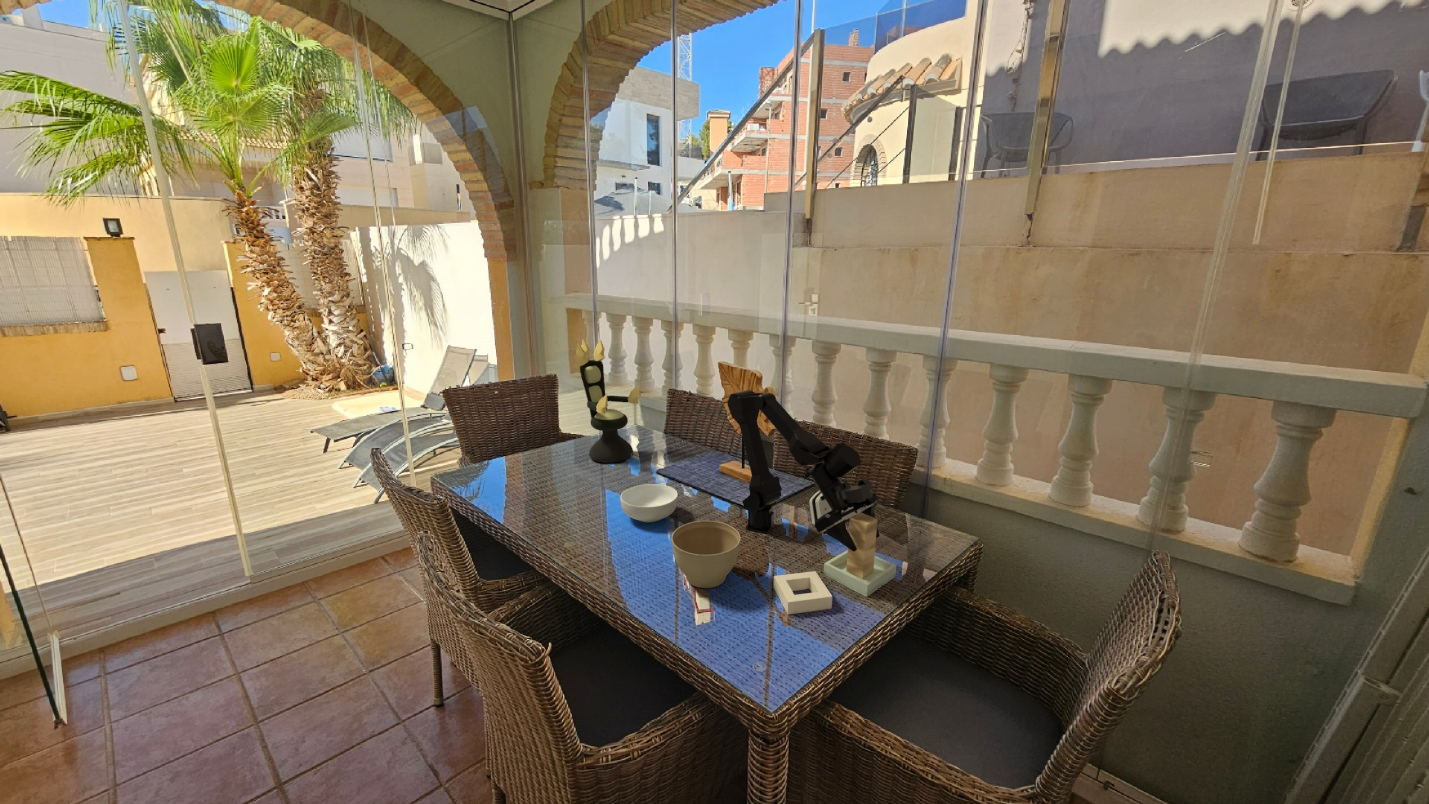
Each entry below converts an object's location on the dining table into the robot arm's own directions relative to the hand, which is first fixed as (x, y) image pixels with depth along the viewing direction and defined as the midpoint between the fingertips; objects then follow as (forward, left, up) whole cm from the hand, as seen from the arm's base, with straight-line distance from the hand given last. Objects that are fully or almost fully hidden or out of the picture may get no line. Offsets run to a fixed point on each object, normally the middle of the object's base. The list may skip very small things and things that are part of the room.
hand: (867, 543), depth 127 cm
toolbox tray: (-1, +1, -9) cm, 9 cm away
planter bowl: (-34, -15, -9) cm, 39 cm away
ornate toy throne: (-105, +44, -9) cm, 115 cm away
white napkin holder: (-14, +29, -9) cm, 33 cm away
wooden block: (-1, +1, -8) cm, 8 cm away
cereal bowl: (-63, +7, -9) cm, 65 cm away
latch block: (-11, -14, -9) cm, 20 cm away
